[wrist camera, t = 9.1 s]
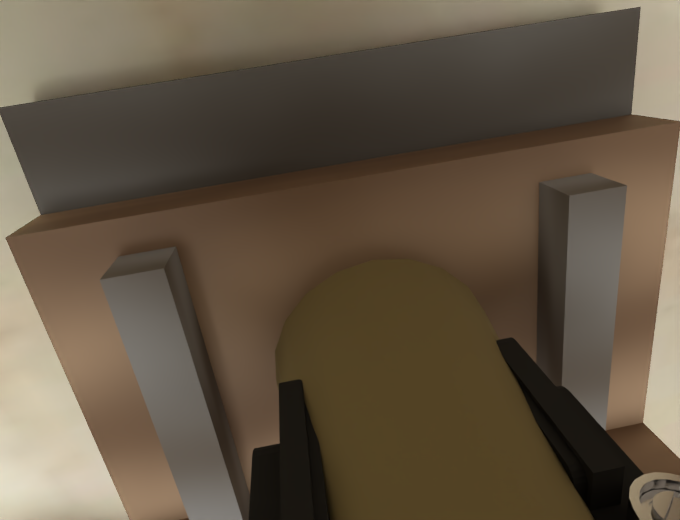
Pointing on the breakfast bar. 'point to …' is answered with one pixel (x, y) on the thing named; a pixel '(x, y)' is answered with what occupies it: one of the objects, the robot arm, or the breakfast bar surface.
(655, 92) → the breakfast bar surface
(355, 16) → the breakfast bar surface
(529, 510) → the olive rounded upright piece
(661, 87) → the breakfast bar surface
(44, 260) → the loading dock
